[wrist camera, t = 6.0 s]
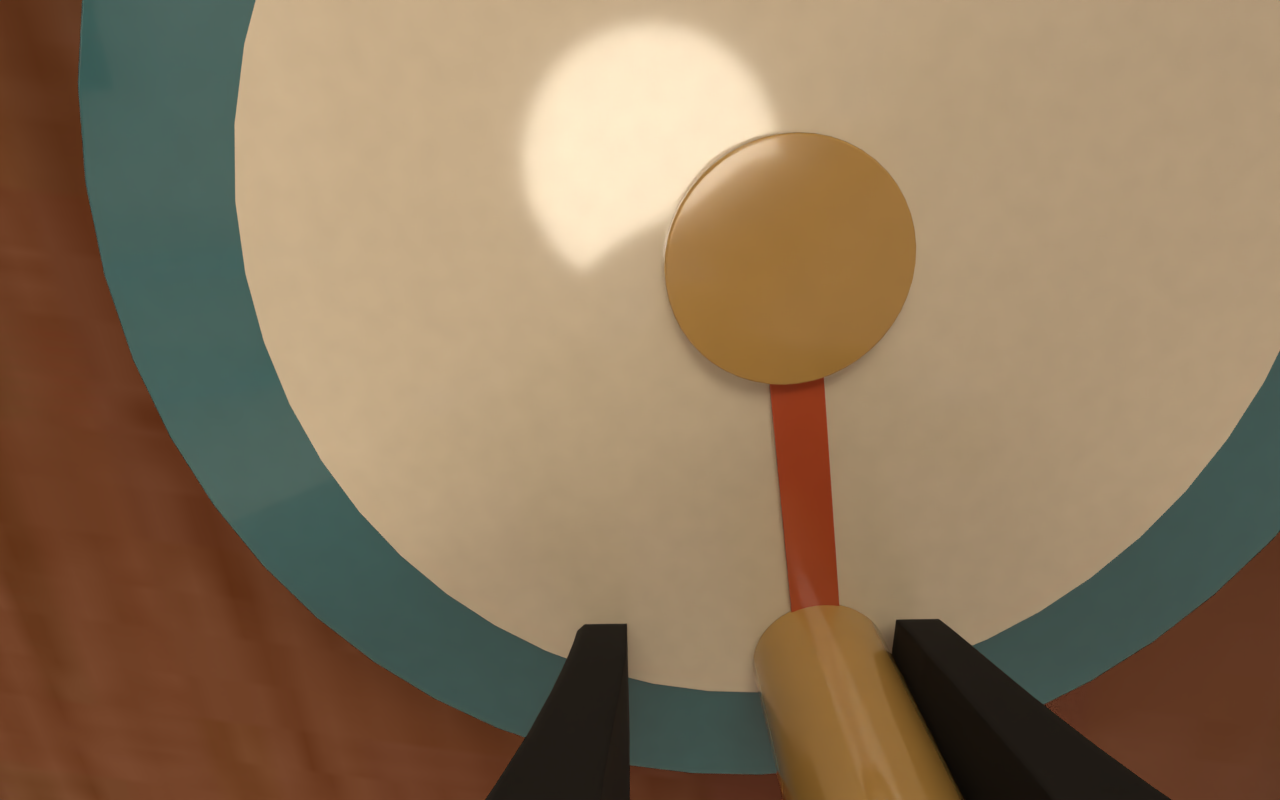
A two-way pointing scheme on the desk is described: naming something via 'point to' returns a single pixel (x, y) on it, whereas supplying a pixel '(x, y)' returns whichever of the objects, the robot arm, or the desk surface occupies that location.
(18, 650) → the desk surface
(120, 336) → the desk surface
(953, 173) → the turntable with peg
